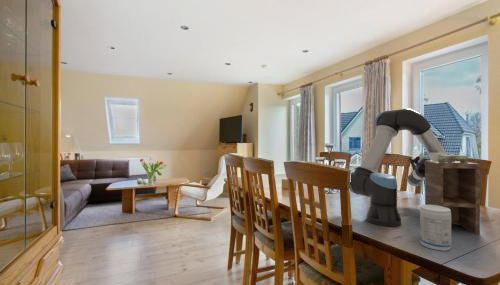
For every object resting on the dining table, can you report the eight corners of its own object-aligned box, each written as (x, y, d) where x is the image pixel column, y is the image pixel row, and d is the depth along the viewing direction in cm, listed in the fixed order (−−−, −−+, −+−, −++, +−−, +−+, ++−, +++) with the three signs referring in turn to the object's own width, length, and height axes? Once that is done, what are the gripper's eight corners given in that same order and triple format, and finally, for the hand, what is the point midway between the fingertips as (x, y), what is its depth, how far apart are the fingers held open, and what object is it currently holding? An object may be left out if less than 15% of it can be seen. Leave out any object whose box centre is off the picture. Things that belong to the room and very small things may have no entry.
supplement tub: (422, 239, 101) (422, 203, 101) (452, 245, 94) (452, 207, 94) (417, 246, 94) (417, 207, 94) (450, 254, 87) (450, 212, 87)
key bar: (447, 161, 112) (447, 153, 113) (429, 160, 129) (429, 152, 130) (457, 162, 112) (457, 153, 112) (438, 160, 128) (438, 152, 129)
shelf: (439, 231, 109) (438, 155, 109) (425, 221, 123) (425, 154, 123) (479, 234, 105) (479, 156, 105) (460, 223, 119) (460, 154, 119)
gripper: (448, 178, 139) (469, 162, 121) (399, 176, 145) (411, 161, 127) (445, 166, 143) (464, 148, 125) (397, 165, 149) (408, 148, 131)
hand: (437, 154), depth 126 cm, fingers open, 13 cm apart
